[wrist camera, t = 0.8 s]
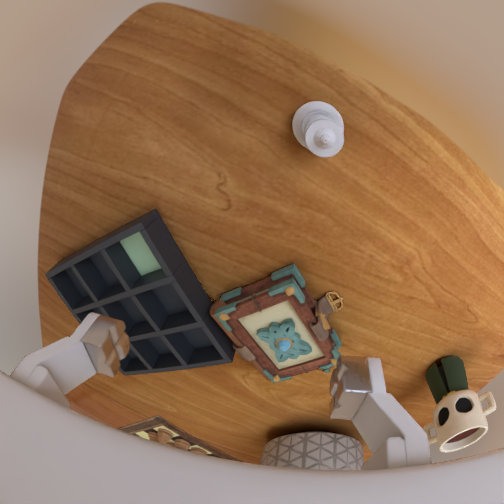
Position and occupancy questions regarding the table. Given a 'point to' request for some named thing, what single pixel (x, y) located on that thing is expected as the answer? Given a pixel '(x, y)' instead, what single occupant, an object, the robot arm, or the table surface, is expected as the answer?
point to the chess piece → (319, 128)
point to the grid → (145, 297)
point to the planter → (314, 451)
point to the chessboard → (172, 437)
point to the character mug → (456, 407)
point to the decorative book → (280, 325)
